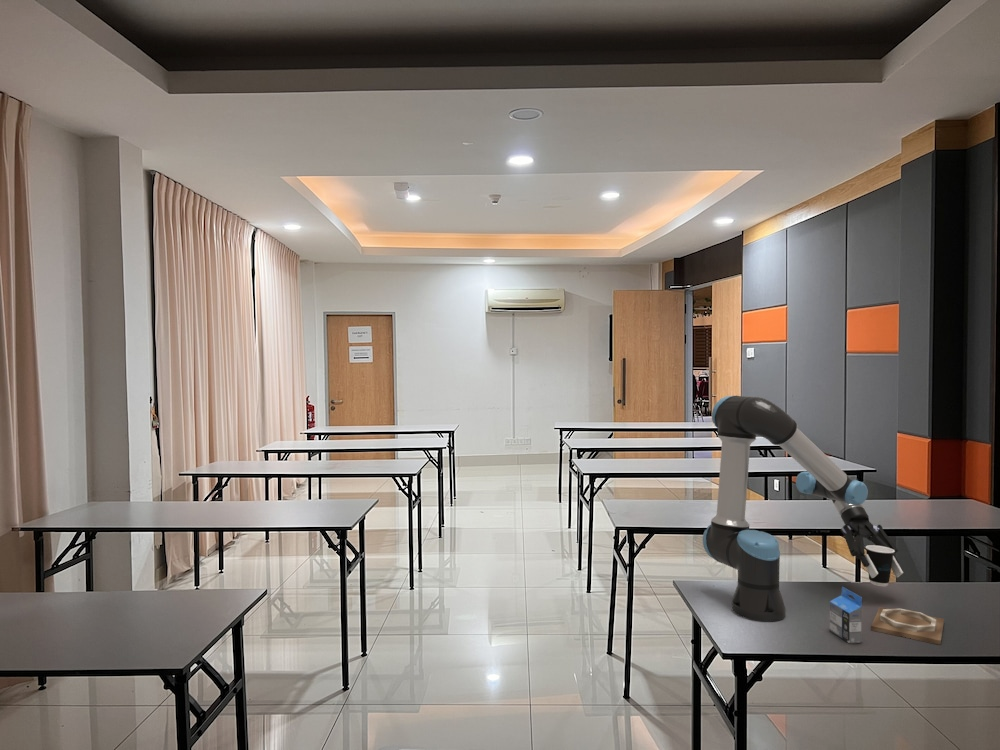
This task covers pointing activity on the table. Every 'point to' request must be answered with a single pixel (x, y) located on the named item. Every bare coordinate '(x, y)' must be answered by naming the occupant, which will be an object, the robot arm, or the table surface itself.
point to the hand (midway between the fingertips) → (887, 575)
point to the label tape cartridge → (846, 616)
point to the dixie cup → (880, 563)
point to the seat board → (908, 624)
